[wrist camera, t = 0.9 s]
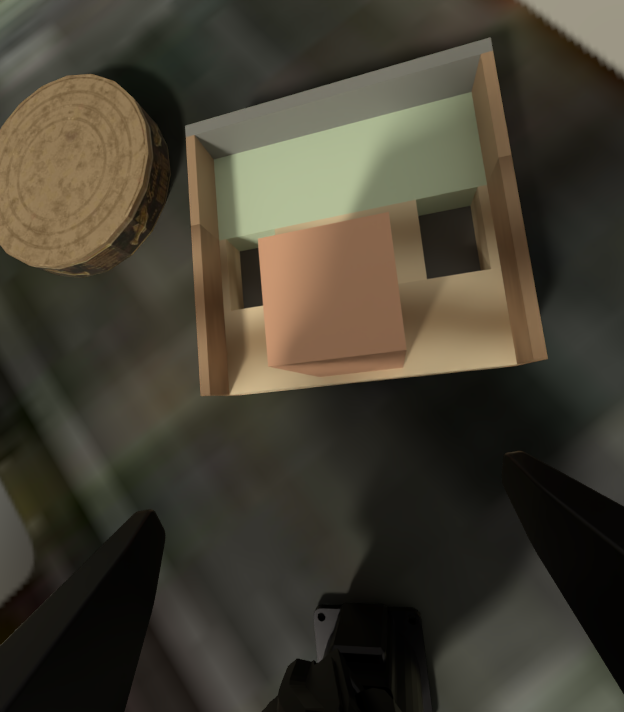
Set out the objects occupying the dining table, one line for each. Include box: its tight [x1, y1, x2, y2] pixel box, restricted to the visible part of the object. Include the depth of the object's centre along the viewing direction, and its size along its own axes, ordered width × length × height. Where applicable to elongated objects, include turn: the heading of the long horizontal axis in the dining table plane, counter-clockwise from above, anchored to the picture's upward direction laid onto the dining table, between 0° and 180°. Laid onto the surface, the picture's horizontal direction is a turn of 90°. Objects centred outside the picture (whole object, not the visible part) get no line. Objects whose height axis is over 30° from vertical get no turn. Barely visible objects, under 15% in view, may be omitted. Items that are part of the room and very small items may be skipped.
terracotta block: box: [258, 212, 407, 377], centre depth 17 cm, size 5×5×9 cm
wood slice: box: [0, 74, 171, 278], centre depth 30 cm, size 16×16×3 cm
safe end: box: [185, 37, 511, 251], centre depth 23 cm, size 7×18×5 cm, turn 96°
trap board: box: [191, 155, 548, 396], centre depth 22 cm, size 10×18×5 cm, turn 96°
